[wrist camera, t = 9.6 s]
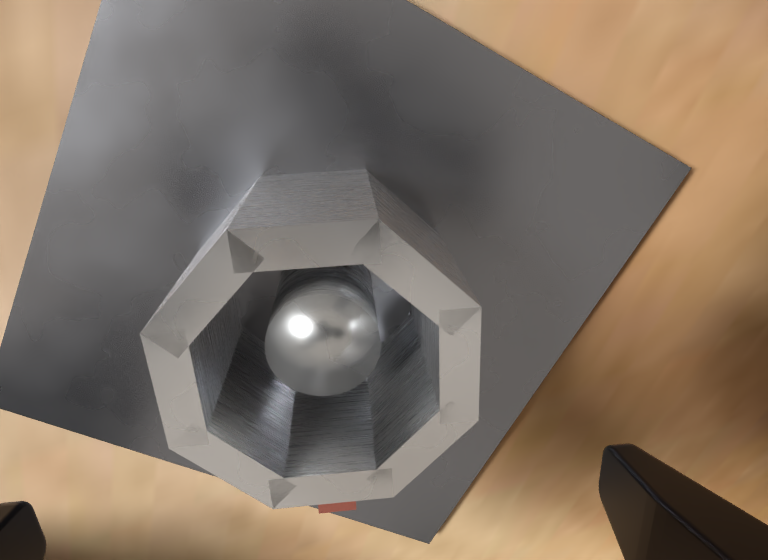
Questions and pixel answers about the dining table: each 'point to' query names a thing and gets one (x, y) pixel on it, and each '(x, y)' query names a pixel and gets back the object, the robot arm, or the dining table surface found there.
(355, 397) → the collar
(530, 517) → the dining table surface
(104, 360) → the duct stub
